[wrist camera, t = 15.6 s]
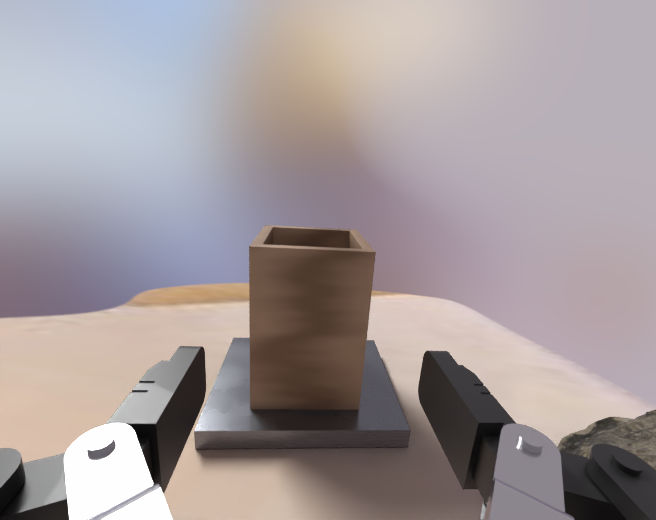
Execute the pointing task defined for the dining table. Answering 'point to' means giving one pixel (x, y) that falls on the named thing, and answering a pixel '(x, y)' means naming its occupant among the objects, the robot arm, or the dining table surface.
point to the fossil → (616, 437)
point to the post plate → (299, 413)
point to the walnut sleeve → (308, 317)
